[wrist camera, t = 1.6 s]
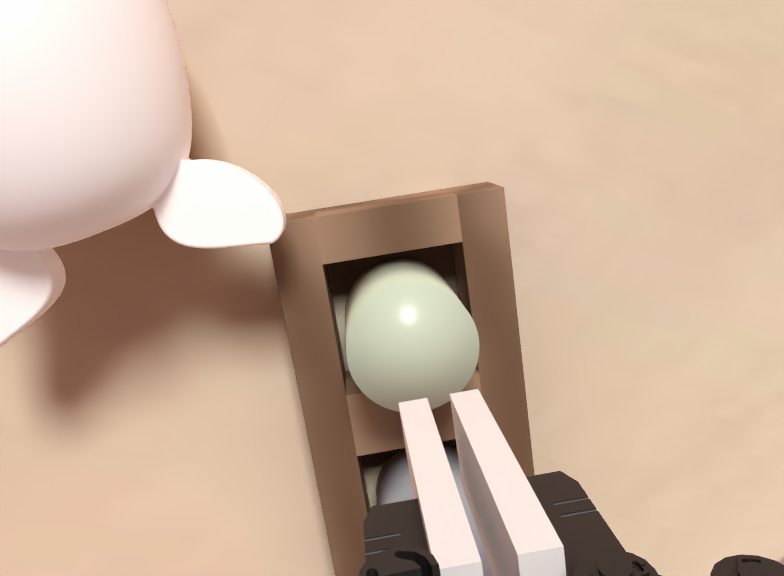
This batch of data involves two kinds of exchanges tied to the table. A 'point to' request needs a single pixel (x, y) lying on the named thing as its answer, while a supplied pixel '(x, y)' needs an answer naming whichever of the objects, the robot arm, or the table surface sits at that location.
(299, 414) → the table surface
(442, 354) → the sage button
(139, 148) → the piggy bank
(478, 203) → the brown wooden slot rack
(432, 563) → the robot arm
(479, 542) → the slate button
